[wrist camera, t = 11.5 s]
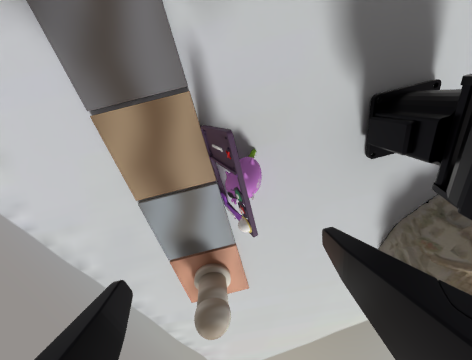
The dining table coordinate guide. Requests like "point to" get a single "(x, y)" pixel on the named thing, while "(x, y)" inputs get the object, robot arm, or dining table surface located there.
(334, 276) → the dining table surface
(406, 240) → the sand castle
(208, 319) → the pawn
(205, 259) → the game board
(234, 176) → the game card
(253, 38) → the dining table surface
